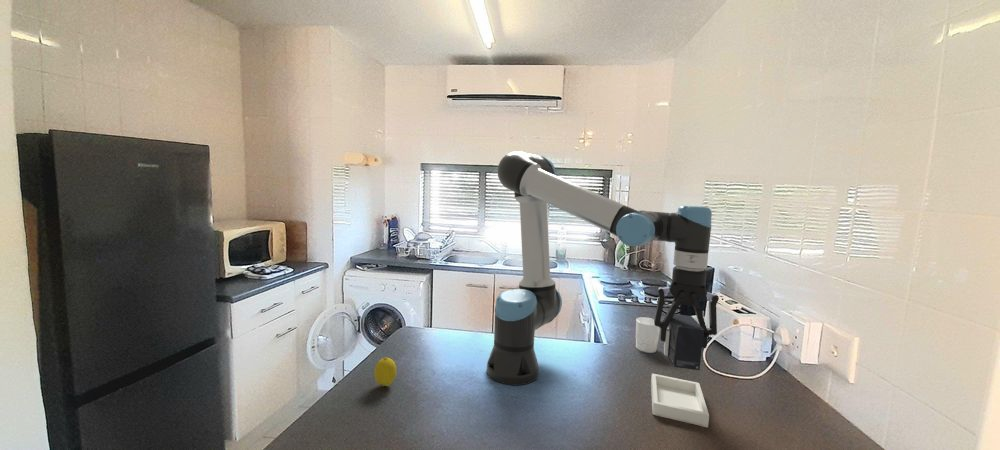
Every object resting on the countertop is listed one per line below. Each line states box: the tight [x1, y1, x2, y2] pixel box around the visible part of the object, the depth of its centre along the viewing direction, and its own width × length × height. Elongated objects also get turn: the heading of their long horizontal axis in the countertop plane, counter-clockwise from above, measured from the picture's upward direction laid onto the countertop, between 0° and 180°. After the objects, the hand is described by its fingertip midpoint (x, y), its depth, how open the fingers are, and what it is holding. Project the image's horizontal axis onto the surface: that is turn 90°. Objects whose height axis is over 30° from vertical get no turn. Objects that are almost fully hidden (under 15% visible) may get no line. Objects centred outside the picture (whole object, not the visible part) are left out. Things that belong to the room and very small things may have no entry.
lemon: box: [374, 356, 397, 387], centre depth 97 cm, size 6×6×8 cm
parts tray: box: [650, 373, 710, 428], centre depth 96 cm, size 12×16×3 cm
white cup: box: [635, 316, 661, 354], centre depth 129 cm, size 8×8×10 cm
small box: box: [667, 313, 704, 371], centre depth 94 cm, size 11×6×10 cm, turn 168°
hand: (681, 356), depth 95 cm, fingers closed on small box, 7 cm apart
